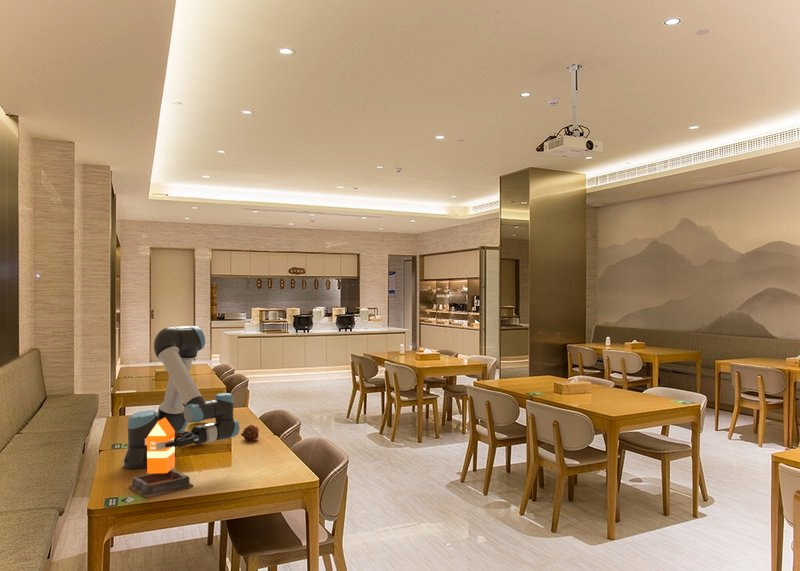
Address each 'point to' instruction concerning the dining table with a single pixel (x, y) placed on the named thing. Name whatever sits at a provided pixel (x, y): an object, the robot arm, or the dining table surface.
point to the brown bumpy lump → (250, 433)
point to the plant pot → (195, 425)
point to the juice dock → (160, 483)
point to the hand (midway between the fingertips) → (150, 444)
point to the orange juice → (165, 457)
